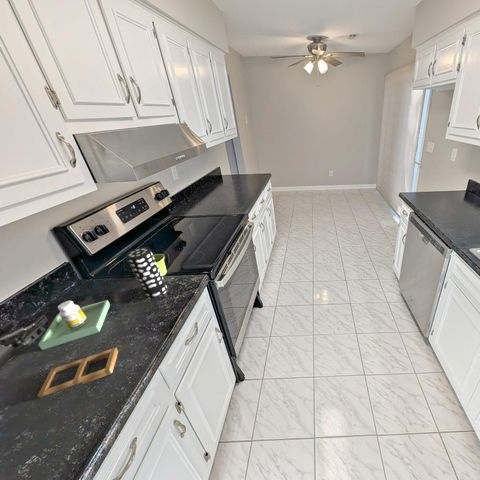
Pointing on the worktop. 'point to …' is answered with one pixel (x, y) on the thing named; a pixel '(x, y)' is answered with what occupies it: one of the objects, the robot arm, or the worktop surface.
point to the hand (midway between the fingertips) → (29, 319)
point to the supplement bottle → (72, 315)
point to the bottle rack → (81, 371)
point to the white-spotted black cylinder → (147, 272)
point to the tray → (63, 333)
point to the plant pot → (160, 263)
